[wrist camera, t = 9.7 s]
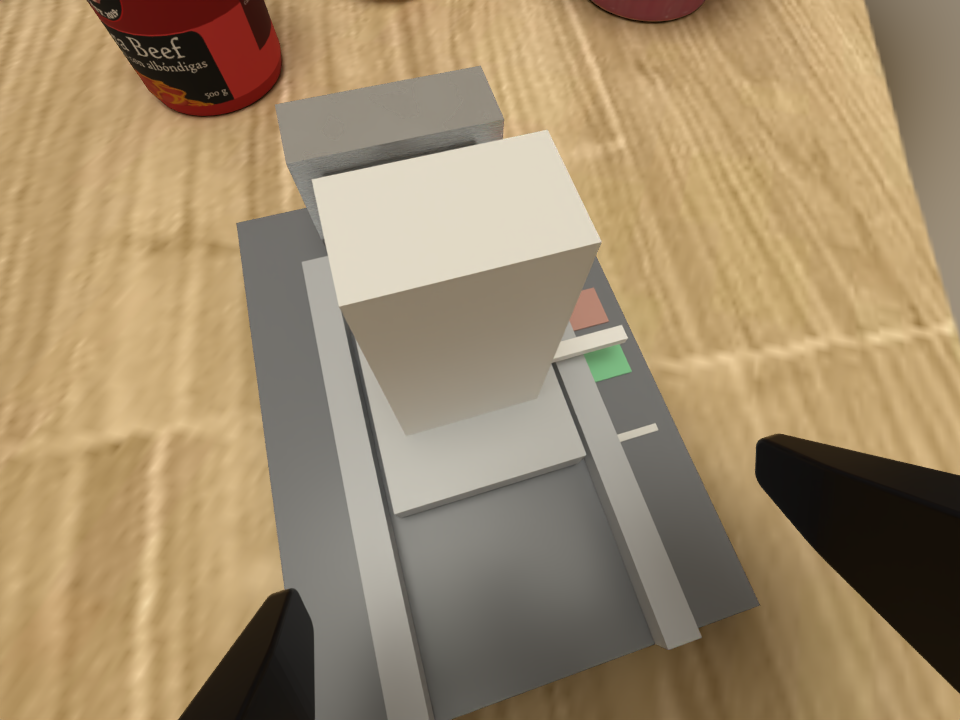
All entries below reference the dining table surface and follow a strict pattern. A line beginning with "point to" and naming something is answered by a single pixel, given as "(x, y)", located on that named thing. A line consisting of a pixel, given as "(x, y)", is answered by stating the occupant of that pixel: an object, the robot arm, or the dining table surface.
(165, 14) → the canned food
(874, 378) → the dining table surface
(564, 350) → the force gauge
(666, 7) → the plant pot
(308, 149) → the grey block with recess
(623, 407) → the track
